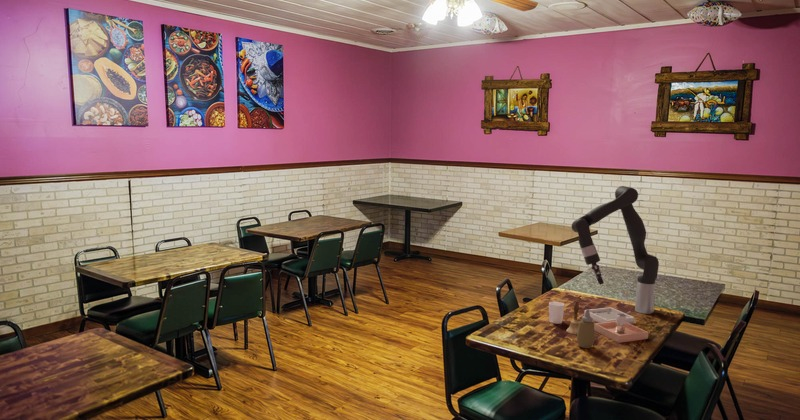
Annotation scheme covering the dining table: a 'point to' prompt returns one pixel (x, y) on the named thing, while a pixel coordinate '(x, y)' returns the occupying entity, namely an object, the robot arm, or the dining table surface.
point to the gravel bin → (607, 315)
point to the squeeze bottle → (586, 331)
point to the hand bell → (574, 321)
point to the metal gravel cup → (620, 323)
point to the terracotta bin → (629, 335)
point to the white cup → (556, 312)
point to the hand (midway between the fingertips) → (601, 283)
